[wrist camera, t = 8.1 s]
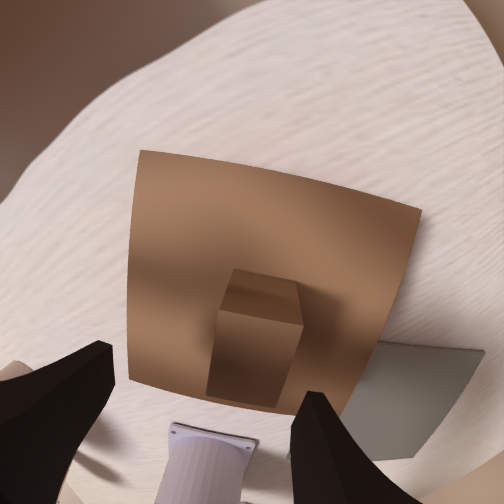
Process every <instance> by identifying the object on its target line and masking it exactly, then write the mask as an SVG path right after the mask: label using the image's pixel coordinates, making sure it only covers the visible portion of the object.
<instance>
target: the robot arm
mask: <svg viewBox="0 0 504 504" xmlns="http://www.w3.org/2000/svg"><path fill="white" fill-rule="evenodd" d="M114 386H115V376H114V364H113V349H112V345H111V344H108V343H105V342H102V341H100V340H98V341H96V342H93V343H91V344H89V345H87V346H85V347H84V348H82V349H80V350H78V351H76V352H74V353H72V354H70V355H68V356H66V357H64V358H62V359H60V360H58V361H56V362H54V363H51V364H49V365H47V366H44V367H42V368H40V369H37V370H35V371H33V372H30V373H27V374H24V375H22V376H18V377H15V378H12V379H8V380H4V381H0V504H56V502H57V498H58V495H59V492H60V489H61V486H62V484H63V481H64V479H65V476H66V473H67V471H68V468H69V466H70V464H71V462H72V459H73V457H74V455H75V453H76V451H77V449H78V447H79V446H80V444H81V442H82V441H83V439H84V438H85V436H86V434H87V433H88V431H89V430H90V428H91V427H92V425H93V424H94V422H95V421H96V419H97V417H98V416H99V414H100V413H101V411H102V410H103V408H104V407H105V405H106V403H107V401H108V399H109V397H110V395H111V392H112V390H113V388H114ZM254 448H255V441H254V440H250V439H244V438H238V437H233V436H227V435H222V434H217V433H212V432H207V431H203V430H199V429H194V428H190V427H186V426H182V425H178V424H174V423H172V424H170V426H169V460H168V463H167V466H166V469H165V472H164V475H163V478H162V481H161V484H160V487H159V490H158V493H157V496H156V499H155V502H154V504H240V499H241V490H242V480H243V475H244V473H245V471H246V468H247V466H248V463H249V461H250V458H251V455H252V453H253V450H254ZM290 456H291V469H292V482H293V494H294V504H422V503H421V502H419V501H417V500H416V499H414V498H413V497H411V496H410V495H409V494H407V493H406V492H405V491H403V490H402V489H401V488H399V487H398V486H397V485H396V484H395V483H393V482H392V481H391V480H390V479H389V478H388V477H387V476H386V475H384V474H383V473H382V472H381V471H380V470H379V469H378V467H377V466H376V465H375V464H374V463H373V462H372V461H371V460H370V459H369V458H368V457H367V456H366V454H365V453H364V452H363V451H362V449H361V448H360V447H359V446H358V444H357V443H356V442H355V440H354V439H353V438H352V436H351V435H350V433H349V432H348V430H347V429H346V427H345V426H344V424H343V423H342V421H341V420H340V418H339V417H338V415H337V414H336V412H335V410H334V409H333V407H332V406H331V404H330V402H329V401H328V399H327V398H326V396H325V394H324V393H323V392H314V391H307V392H306V395H305V397H304V399H303V402H302V404H301V406H300V408H299V410H298V413H297V415H296V417H295V419H294V421H293V423H292V425H291V438H290Z"/></svg>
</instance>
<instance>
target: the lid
mask: <svg viewBox="0 0 504 504" xmlns="http://www.w3.org/2000/svg"><path fill="white" fill-rule="evenodd" d="M421 213H422V210H421V209H418V208H415V207H412V206H408V205H405V204H402V203H399V202H395V201H392V200H389V199H385V198H382V197H378V196H375V195H371V194H368V193H364V192H360V191H357V190H353V189H349V188H345V187H341V186H338V185H334V184H330V183H326V182H321V181H317V180H313V179H309V178H304V177H300V176H296V175H291V174H286V173H282V172H277V171H272V170H267V169H262V168H257V167H252V166H247V165H241V164H236V163H230V162H224V161H218V160H212V159H206V158H200V157H193V156H186V155H179V154H172V153H164V152H156V151H147V150H140V154H139V160H138V167H137V174H136V181H135V189H134V198H133V207H132V217H131V228H130V240H129V256H128V277H127V350H128V370H129V379H130V380H133V381H136V382H139V383H142V384H145V385H149V386H152V387H155V388H159V389H162V390H166V391H169V392H173V393H177V394H181V395H185V396H189V397H193V398H197V399H201V400H205V401H210V402H214V403H219V404H224V405H229V406H234V407H240V408H245V409H251V410H257V411H263V412H270V413H277V414H285V415H294V416H296V415H297V413H298V410H299V408H300V406H301V404H302V402H303V399H304V397H305V395H306V392H307V391H314V392H323V393H324V394H325V396H326V398H327V399H328V401H329V402H330V404H331V406H332V407H333V409H334V410H335V412H336V414H337V415H338V417H340V416H341V414H342V412H343V410H344V408H345V407H346V405H347V403H348V401H349V399H350V397H351V395H352V394H353V392H354V390H355V388H356V386H357V384H358V382H359V380H360V378H361V376H362V374H363V372H364V370H365V367H366V365H367V363H368V361H369V359H370V357H371V355H372V352H373V350H374V348H375V346H376V343H377V341H378V339H379V337H380V334H381V332H382V329H383V327H384V325H385V322H386V320H387V317H388V315H389V312H390V310H391V307H392V304H393V302H394V299H395V296H396V294H397V291H398V288H399V285H400V282H401V280H402V277H403V274H404V271H405V268H406V265H407V262H408V258H409V255H410V252H411V249H412V245H413V242H414V239H415V235H416V231H417V228H418V224H419V220H420V217H421Z"/></svg>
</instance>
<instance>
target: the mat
mask: <svg viewBox="0 0 504 504" xmlns="http://www.w3.org/2000/svg"><path fill="white" fill-rule="evenodd" d="M484 354H485V352H484V350H468V349H452V348H439V347H427V346H416V345H406V344H396V343H387V342H379V341H377V343H376V346H375V348H374V350H373V352H372V355H371V357H370V359H369V361H368V363H367V365H366V367H365V370H364V372H363V374H362V376H361V378H360V380H359V382H358V384H357V386H356V388H355V390H354V392H353V394H352V395H351V397H350V399H349V401H348V403H347V405H346V407H345V408H344V410H343V412H342V414H341V416H340V417H339V418H340V420H341V421H342V423H343V424H344V426H345V427H346V429H347V430H348V432H349V433H350V435H351V436H352V438H353V439H354V440H355V442H356V443H357V444H358V446H359V447H360V448H361V449H362V451H363V452H364V453H365V454H366V456H367V457H368V458H369V459H370V460H371V461H382V460H395V459H405V458H413V457H414V456H415V454H416V453H417V452H418V451H419V450H420V449H421V447H422V446H423V445H424V444H425V443H426V441H427V440H428V439H429V438H430V436H431V435H432V434H433V433H434V431H435V430H436V429H437V427H438V426H439V425H440V423H441V422H442V421H443V419H444V418H445V417H446V415H447V414H448V412H449V411H450V410H451V408H452V407H453V405H454V404H455V402H456V401H457V399H458V398H459V396H460V395H461V393H462V392H463V390H464V389H465V387H466V385H467V384H468V382H469V381H470V379H471V377H472V376H473V374H474V372H475V370H476V369H477V367H478V365H479V363H480V362H481V360H482V358H483V356H484ZM287 459H288V460H291V456H290V451H289V453H288V455H287Z"/></svg>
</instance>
